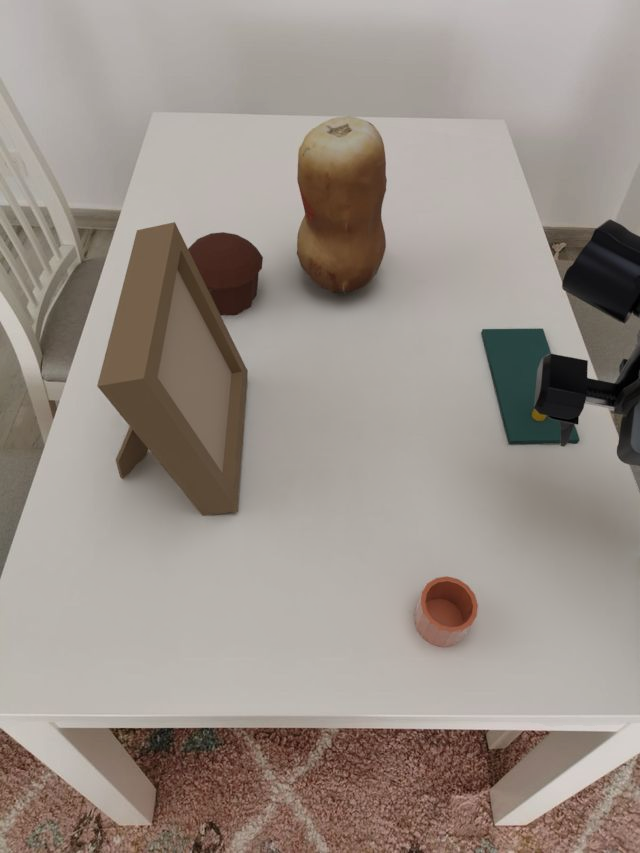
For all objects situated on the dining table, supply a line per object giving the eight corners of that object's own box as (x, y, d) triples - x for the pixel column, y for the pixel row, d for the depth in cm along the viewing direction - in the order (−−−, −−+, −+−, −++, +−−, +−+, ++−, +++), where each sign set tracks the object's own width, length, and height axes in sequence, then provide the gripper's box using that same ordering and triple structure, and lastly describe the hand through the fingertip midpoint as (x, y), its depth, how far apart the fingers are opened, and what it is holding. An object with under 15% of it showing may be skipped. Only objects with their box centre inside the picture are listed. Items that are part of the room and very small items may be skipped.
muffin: (178, 314, 93) (165, 260, 85) (203, 267, 99) (194, 213, 91) (254, 327, 91) (248, 274, 83) (274, 279, 98) (271, 225, 90)
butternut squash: (289, 260, 101) (283, 105, 80) (368, 247, 103) (381, 93, 82) (309, 318, 93) (308, 162, 73) (394, 303, 95) (416, 148, 75)
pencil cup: (469, 603, 67) (480, 584, 63) (463, 654, 64) (474, 638, 59) (418, 590, 68) (425, 570, 63) (409, 640, 65) (416, 623, 60)
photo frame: (248, 375, 86) (228, 221, 66) (238, 515, 73) (209, 377, 53) (141, 376, 86) (88, 222, 65) (112, 516, 73) (35, 379, 53)
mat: (577, 443, 80) (580, 439, 79) (508, 444, 79) (510, 440, 79) (541, 332, 91) (543, 328, 91) (481, 332, 91) (482, 328, 91)
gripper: (557, 395, 48) (509, 497, 60) (821, 448, 45) (712, 544, 57) (563, 301, 54) (518, 411, 67) (794, 342, 51) (702, 449, 64)
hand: (608, 452), depth 64 cm, fingers open, 9 cm apart
